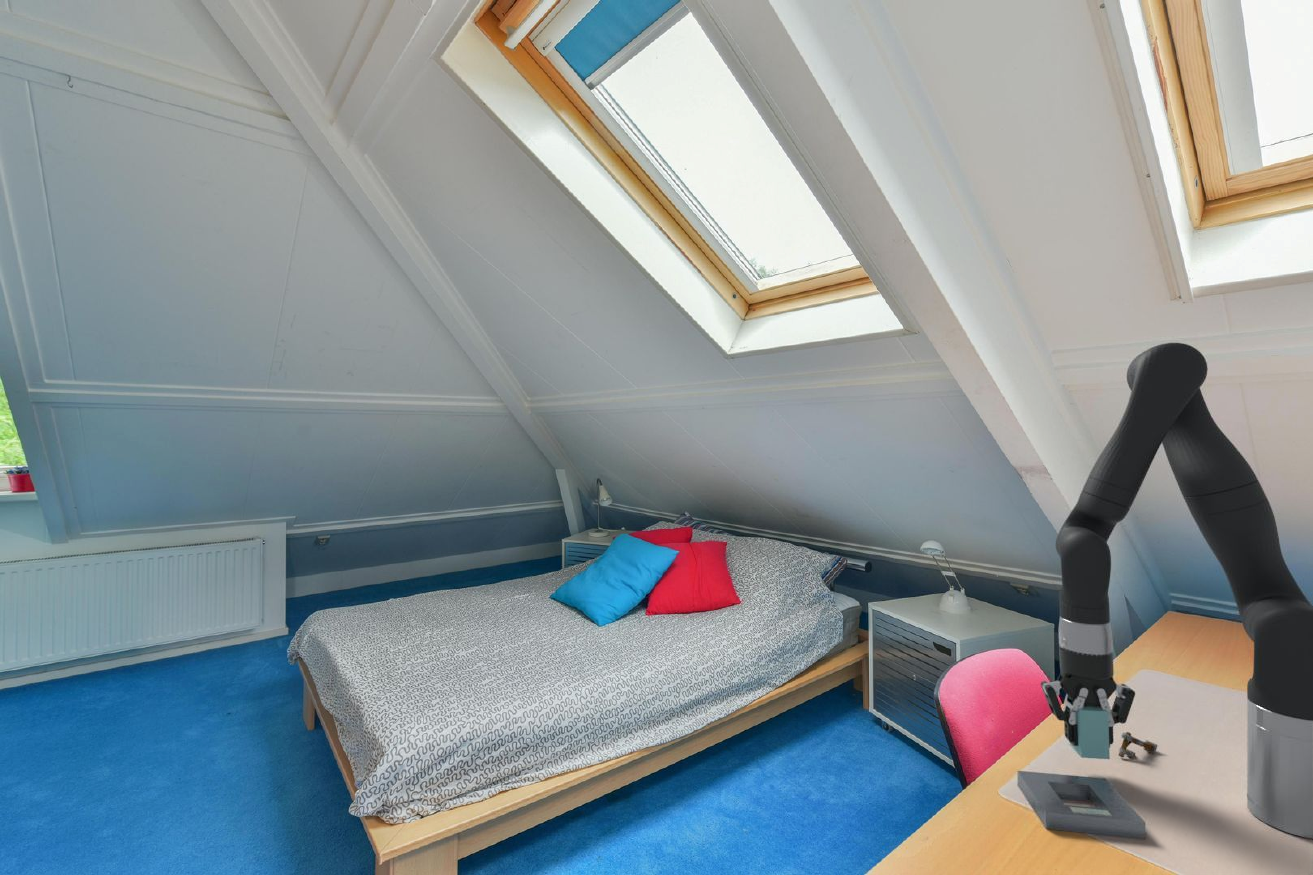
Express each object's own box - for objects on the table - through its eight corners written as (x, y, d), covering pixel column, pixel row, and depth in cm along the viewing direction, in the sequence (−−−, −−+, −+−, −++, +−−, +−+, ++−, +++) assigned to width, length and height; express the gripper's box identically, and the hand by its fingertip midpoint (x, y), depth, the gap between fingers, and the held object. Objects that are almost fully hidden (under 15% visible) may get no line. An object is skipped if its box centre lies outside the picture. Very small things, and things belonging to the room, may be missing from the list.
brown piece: (1111, 752, 109) (1118, 728, 109) (1140, 762, 111) (1147, 738, 112) (1122, 757, 107) (1129, 732, 108) (1151, 768, 109) (1158, 743, 110)
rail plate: (1105, 793, 98) (1105, 777, 98) (1145, 838, 87) (1145, 821, 87) (1017, 785, 101) (1017, 769, 101) (1045, 828, 90) (1045, 811, 90)
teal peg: (1096, 746, 105) (1095, 700, 105) (1109, 759, 101) (1108, 711, 101) (1069, 744, 106) (1068, 699, 106) (1081, 757, 102) (1079, 710, 102)
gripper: (1120, 638, 105) (1123, 736, 105) (1030, 636, 108) (1033, 731, 108) (1145, 654, 98) (1149, 759, 98) (1048, 651, 101) (1052, 753, 101)
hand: (1088, 743), depth 103 cm, fingers closed on teal peg, 4 cm apart
